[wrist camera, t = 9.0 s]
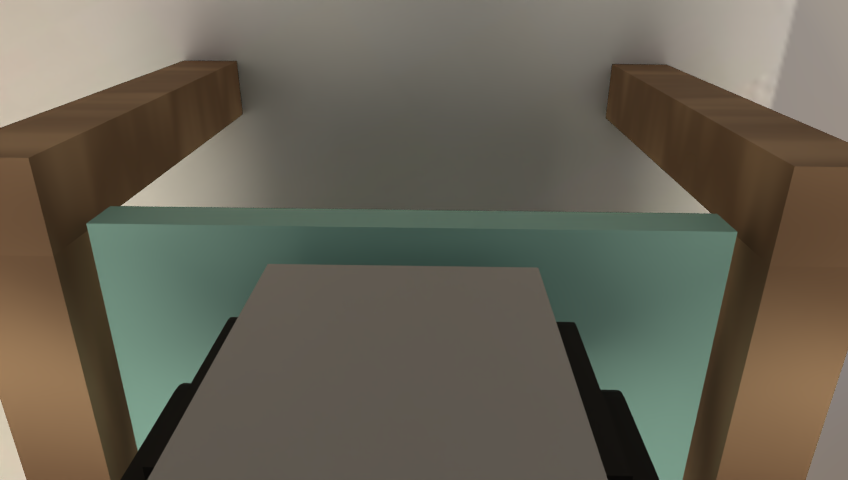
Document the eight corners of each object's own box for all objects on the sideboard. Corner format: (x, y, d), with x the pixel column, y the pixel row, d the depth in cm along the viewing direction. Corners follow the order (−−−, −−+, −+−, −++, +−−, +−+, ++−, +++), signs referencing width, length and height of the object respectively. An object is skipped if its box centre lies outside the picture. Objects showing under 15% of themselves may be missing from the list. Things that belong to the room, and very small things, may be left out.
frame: (183, 60, 24) (-79, 156, 12) (666, 64, 23) (906, 167, 11) (231, 389, 30) (89, 674, 18) (615, 395, 29) (736, 691, 17)
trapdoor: (112, 204, 14) (83, 224, 13) (715, 212, 13) (740, 233, 12) (189, 578, 18) (173, 617, 17) (638, 589, 18) (650, 629, 17)
